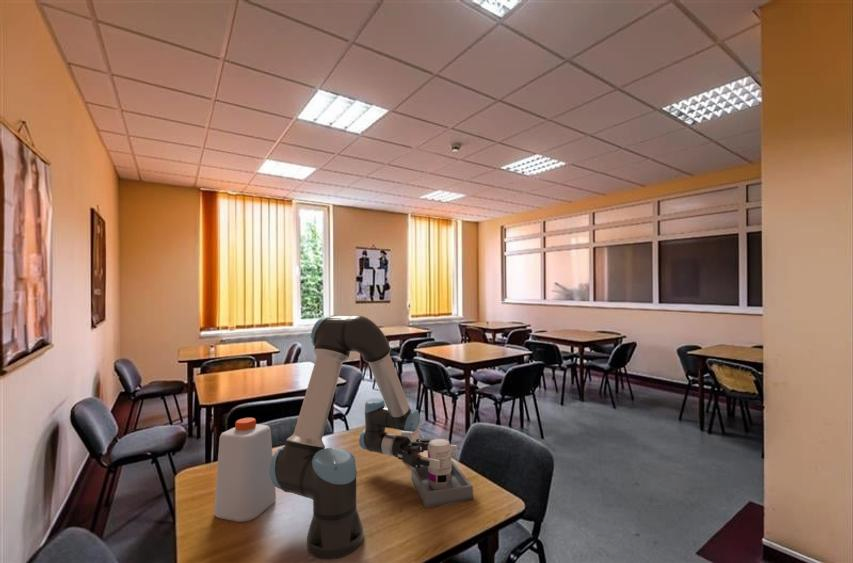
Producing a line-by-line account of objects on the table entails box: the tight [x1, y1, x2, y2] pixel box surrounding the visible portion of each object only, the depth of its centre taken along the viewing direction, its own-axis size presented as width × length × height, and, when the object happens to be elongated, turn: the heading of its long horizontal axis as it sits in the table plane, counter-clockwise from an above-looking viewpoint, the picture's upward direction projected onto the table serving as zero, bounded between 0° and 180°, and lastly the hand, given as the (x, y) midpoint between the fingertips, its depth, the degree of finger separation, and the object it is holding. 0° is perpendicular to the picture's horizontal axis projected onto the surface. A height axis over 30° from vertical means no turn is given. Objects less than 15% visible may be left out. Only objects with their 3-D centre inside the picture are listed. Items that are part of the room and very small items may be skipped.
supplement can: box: [427, 437, 452, 490], centre depth 133 cm, size 8×8×15 cm
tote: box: [410, 460, 474, 509], centre depth 133 cm, size 20×16×4 cm
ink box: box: [400, 426, 421, 462], centre depth 159 cm, size 8×5×12 cm, turn 160°
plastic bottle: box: [213, 417, 277, 523], centre depth 123 cm, size 15×15×28 cm
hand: (448, 457), depth 132 cm, fingers open, 13 cm apart
